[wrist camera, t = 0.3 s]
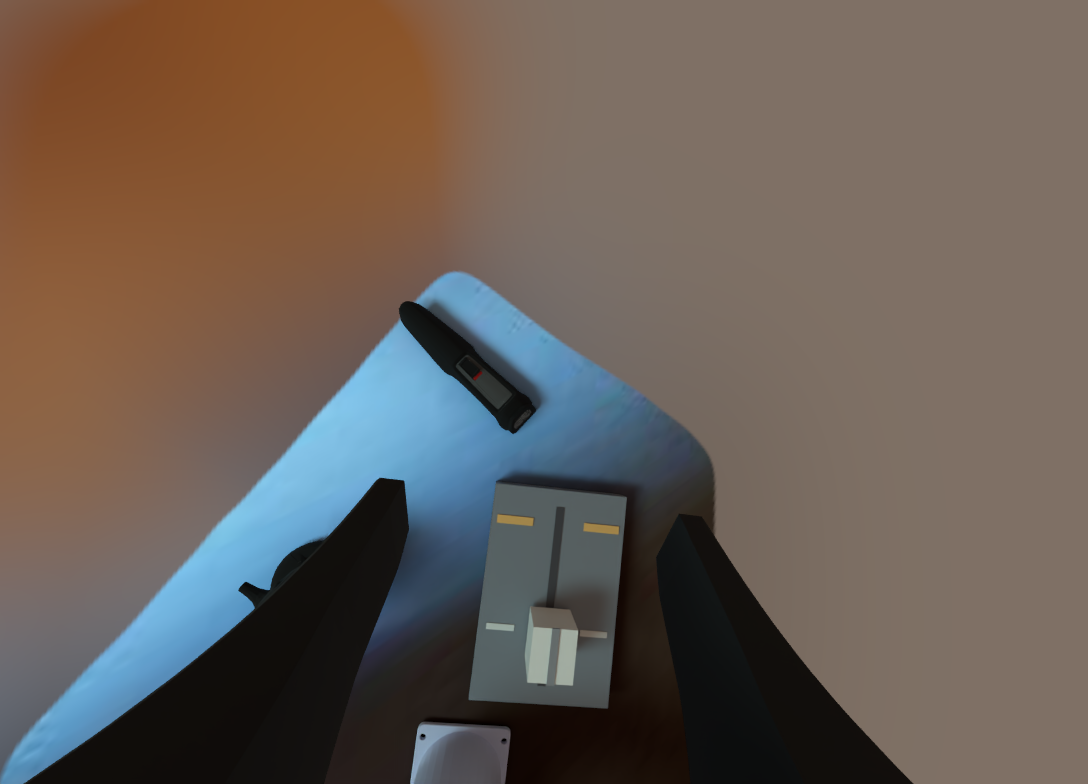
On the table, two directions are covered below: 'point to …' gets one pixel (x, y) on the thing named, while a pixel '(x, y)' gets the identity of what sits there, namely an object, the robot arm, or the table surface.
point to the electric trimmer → (467, 367)
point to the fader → (551, 646)
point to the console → (549, 589)
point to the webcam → (280, 573)
